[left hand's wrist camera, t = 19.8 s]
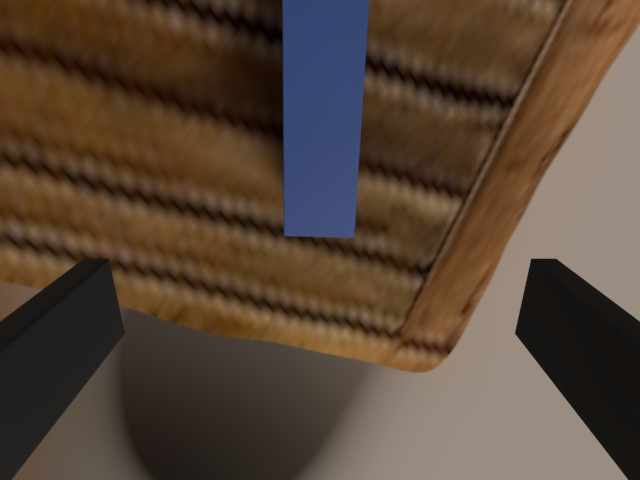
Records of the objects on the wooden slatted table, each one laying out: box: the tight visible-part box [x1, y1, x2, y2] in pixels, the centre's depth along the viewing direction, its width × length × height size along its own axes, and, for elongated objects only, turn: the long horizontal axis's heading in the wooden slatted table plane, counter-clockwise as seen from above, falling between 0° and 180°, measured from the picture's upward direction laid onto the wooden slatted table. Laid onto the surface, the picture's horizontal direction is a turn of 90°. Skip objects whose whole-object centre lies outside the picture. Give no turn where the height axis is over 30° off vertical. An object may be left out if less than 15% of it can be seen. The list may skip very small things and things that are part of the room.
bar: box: [282, 0, 369, 238], centre depth 26 cm, size 27×5×9 cm, turn 178°
